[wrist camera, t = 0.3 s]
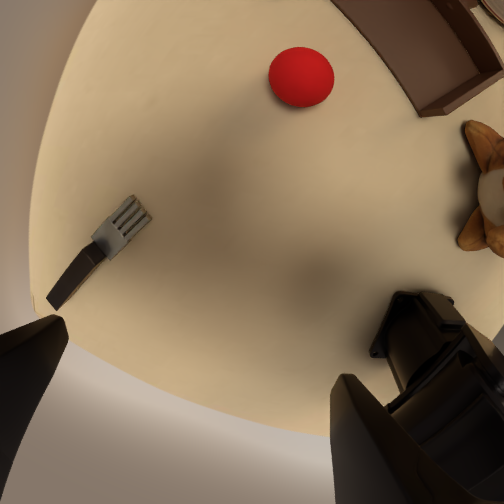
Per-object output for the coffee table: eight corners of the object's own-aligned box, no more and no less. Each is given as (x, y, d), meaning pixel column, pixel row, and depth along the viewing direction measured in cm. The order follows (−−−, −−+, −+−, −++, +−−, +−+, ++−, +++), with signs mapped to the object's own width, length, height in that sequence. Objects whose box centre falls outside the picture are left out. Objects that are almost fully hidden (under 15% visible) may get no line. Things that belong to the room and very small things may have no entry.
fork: (71, 302, 22) (59, 314, 20) (55, 283, 21) (42, 294, 19) (153, 219, 18) (140, 228, 16) (132, 193, 18) (117, 200, 16)
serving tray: (420, 117, 14) (446, 115, 11) (311, -18, 11) (317, -42, 8) (501, 66, 11) (525, 62, 8) (416, -46, 8) (431, -62, 5)
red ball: (323, 115, 15) (336, 108, 12) (265, 105, 15) (263, 95, 12) (330, 64, 14) (344, 46, 10) (272, 53, 14) (272, 33, 10)
